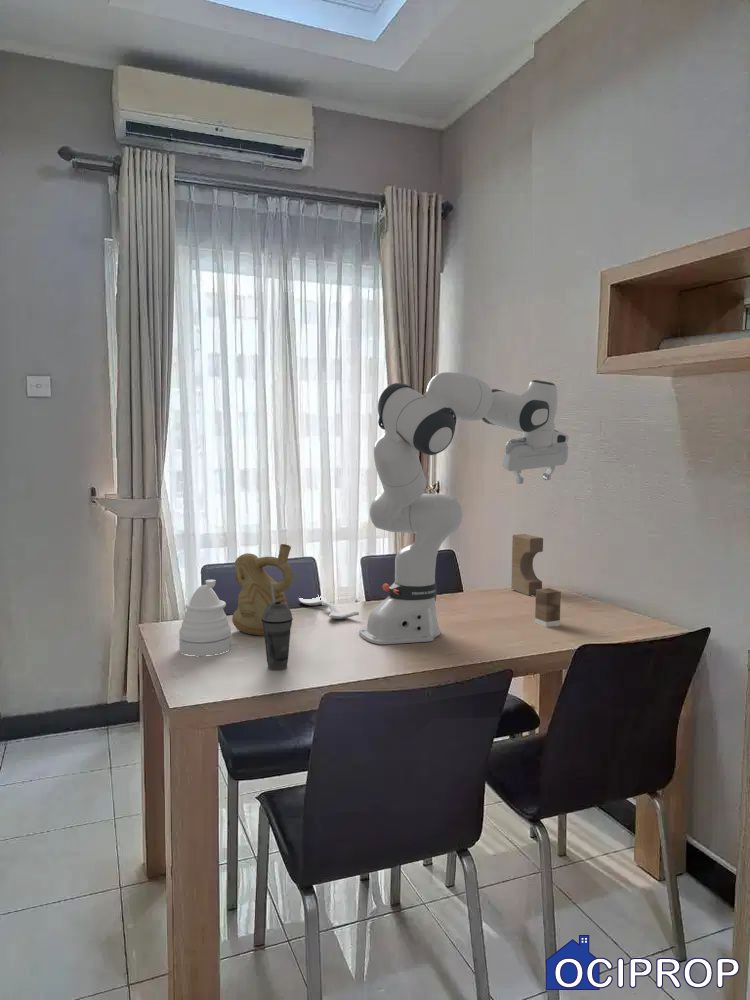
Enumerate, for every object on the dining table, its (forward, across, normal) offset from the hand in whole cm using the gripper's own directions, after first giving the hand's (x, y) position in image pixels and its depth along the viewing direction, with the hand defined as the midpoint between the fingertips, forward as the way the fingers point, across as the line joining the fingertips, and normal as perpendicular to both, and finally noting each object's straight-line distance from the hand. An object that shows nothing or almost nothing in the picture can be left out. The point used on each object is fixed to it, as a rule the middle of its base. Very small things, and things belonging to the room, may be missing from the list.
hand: (533, 481), depth 203 cm
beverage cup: (+28, -84, -26) cm, 93 cm away
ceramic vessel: (+37, -81, +5) cm, 89 cm away
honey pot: (+32, -99, -6) cm, 104 cm away
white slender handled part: (+44, -59, +19) cm, 76 cm away
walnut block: (+29, -1, -15) cm, 32 cm away
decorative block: (+50, +16, +19) cm, 56 cm away
